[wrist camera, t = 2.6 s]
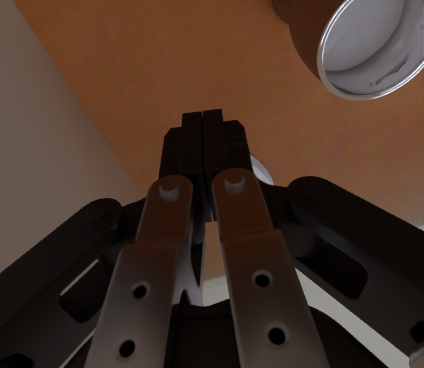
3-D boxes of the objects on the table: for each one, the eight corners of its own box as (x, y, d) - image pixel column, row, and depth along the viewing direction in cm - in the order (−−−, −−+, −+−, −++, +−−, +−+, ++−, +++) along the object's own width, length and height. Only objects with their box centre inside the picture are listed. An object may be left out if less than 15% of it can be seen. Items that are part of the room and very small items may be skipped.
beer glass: (253, -29, 26) (295, 20, 15) (333, -84, 23) (453, -75, 12) (282, 43, 30) (331, 123, 19) (352, 3, 27) (454, 66, 17)
